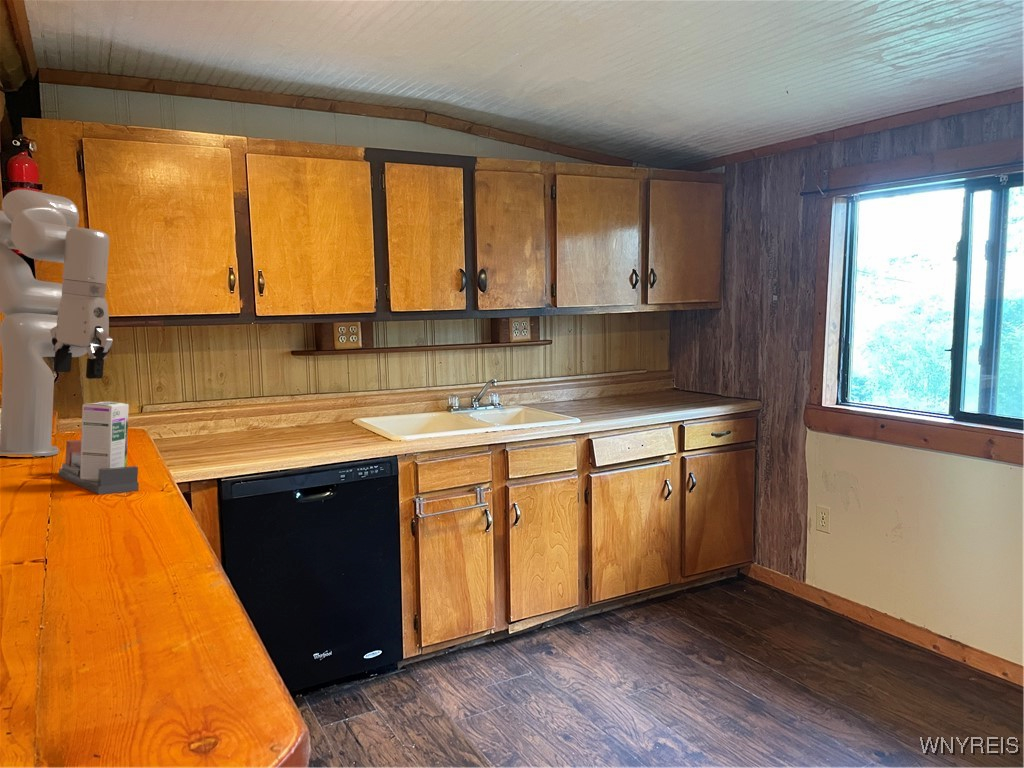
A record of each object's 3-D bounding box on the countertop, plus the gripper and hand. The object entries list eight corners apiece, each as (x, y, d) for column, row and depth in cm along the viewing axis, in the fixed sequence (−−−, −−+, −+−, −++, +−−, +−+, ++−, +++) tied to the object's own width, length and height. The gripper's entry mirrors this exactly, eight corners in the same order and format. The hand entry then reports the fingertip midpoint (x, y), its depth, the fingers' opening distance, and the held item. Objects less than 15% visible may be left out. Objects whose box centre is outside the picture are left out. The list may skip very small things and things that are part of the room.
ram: (65, 465, 142) (66, 440, 142) (83, 463, 145) (85, 439, 144) (83, 473, 136) (84, 447, 136) (102, 471, 139) (103, 446, 139)
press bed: (58, 476, 139) (59, 453, 139) (96, 472, 145) (97, 451, 145) (98, 494, 128) (99, 470, 127) (138, 490, 133) (139, 467, 133)
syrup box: (109, 482, 131) (113, 405, 131) (78, 479, 132) (82, 402, 131) (126, 476, 137) (130, 403, 136) (96, 474, 137) (100, 400, 136)
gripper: (130, 296, 141) (124, 380, 143) (73, 288, 148) (68, 369, 149) (95, 293, 134) (88, 381, 136) (37, 285, 141) (31, 369, 142)
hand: (78, 374), depth 142 cm, fingers open, 9 cm apart
